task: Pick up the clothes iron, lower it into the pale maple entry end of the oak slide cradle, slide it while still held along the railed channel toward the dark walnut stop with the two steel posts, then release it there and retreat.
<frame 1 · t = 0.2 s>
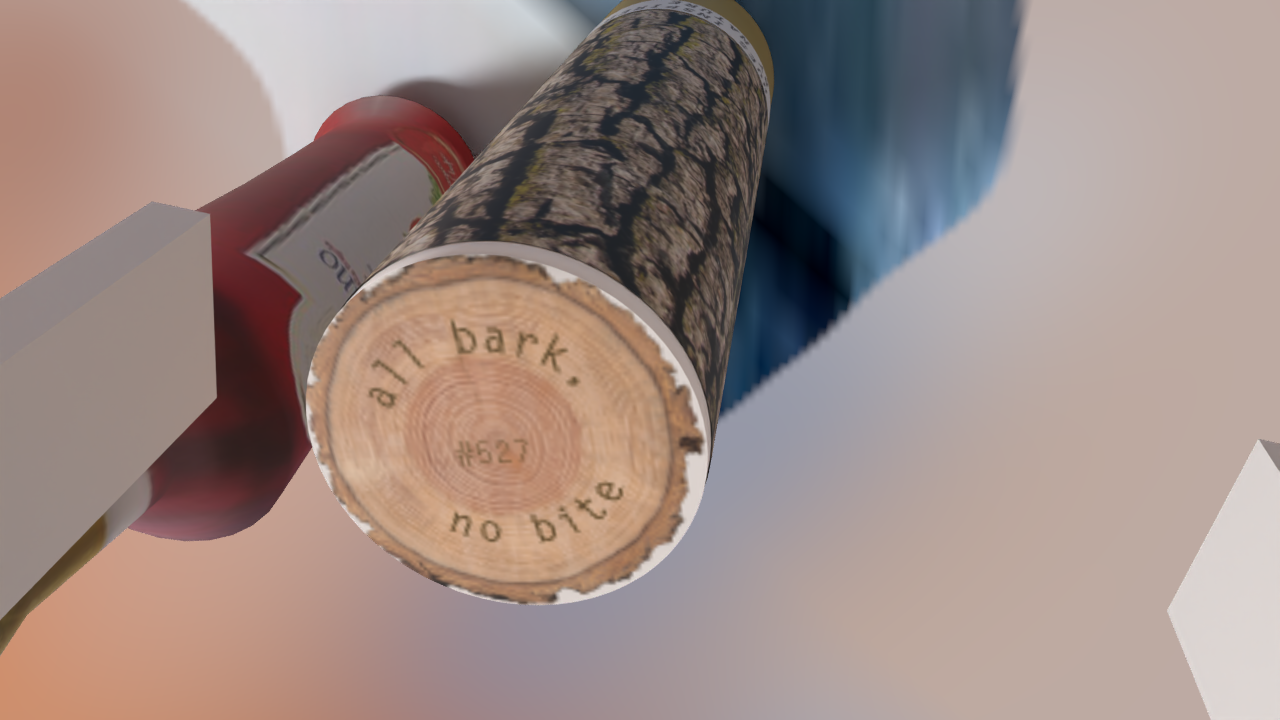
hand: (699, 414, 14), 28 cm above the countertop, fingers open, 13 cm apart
liquor: (408, 172, 43), on the countertop
paper tube: (682, 74, 40), on the countertop
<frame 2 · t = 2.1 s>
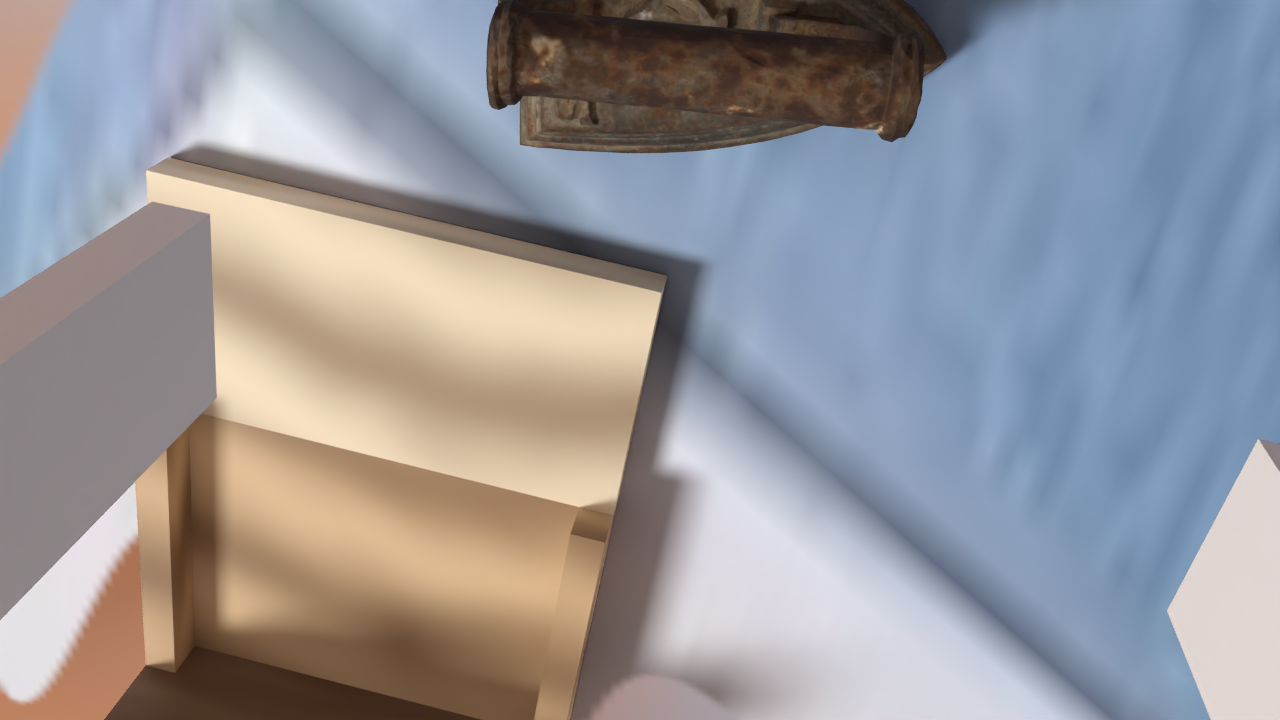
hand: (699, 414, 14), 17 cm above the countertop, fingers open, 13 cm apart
cradle: (391, 486, 37), on the countertop
clothes iron: (731, 29, 29), on the countertop
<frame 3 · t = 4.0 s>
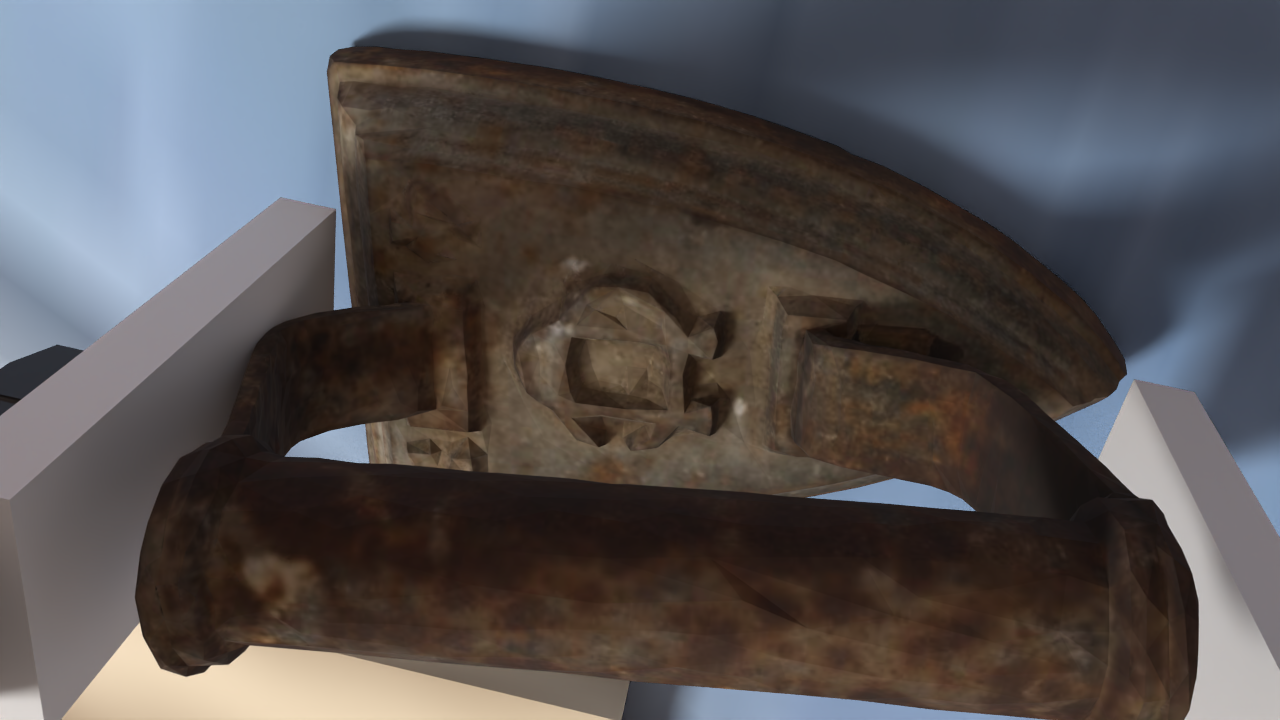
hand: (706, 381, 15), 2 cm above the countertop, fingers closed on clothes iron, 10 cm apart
clothes iron: (727, 308, 16), on the countertop, touching gripper
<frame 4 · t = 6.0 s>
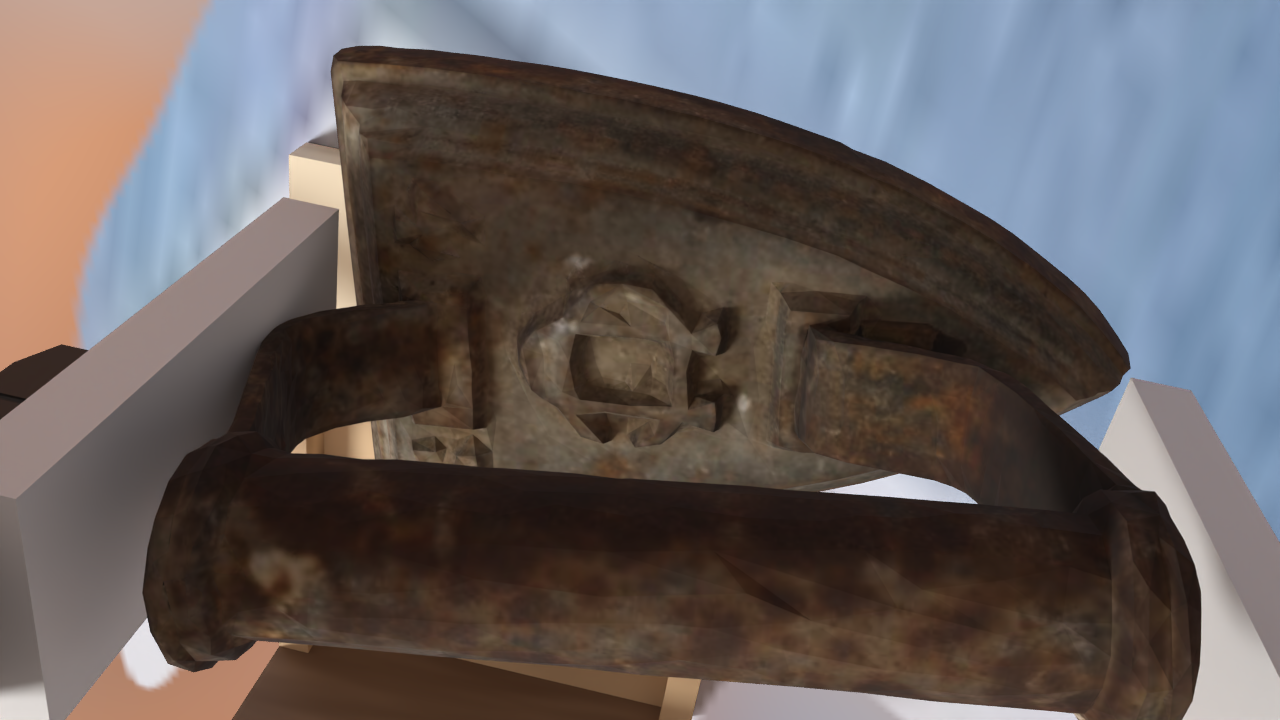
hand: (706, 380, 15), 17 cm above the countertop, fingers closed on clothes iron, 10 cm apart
cradle: (519, 463, 37), on the countertop
clothes iron: (731, 304, 16), point 15 cm above the countertop, touching gripper
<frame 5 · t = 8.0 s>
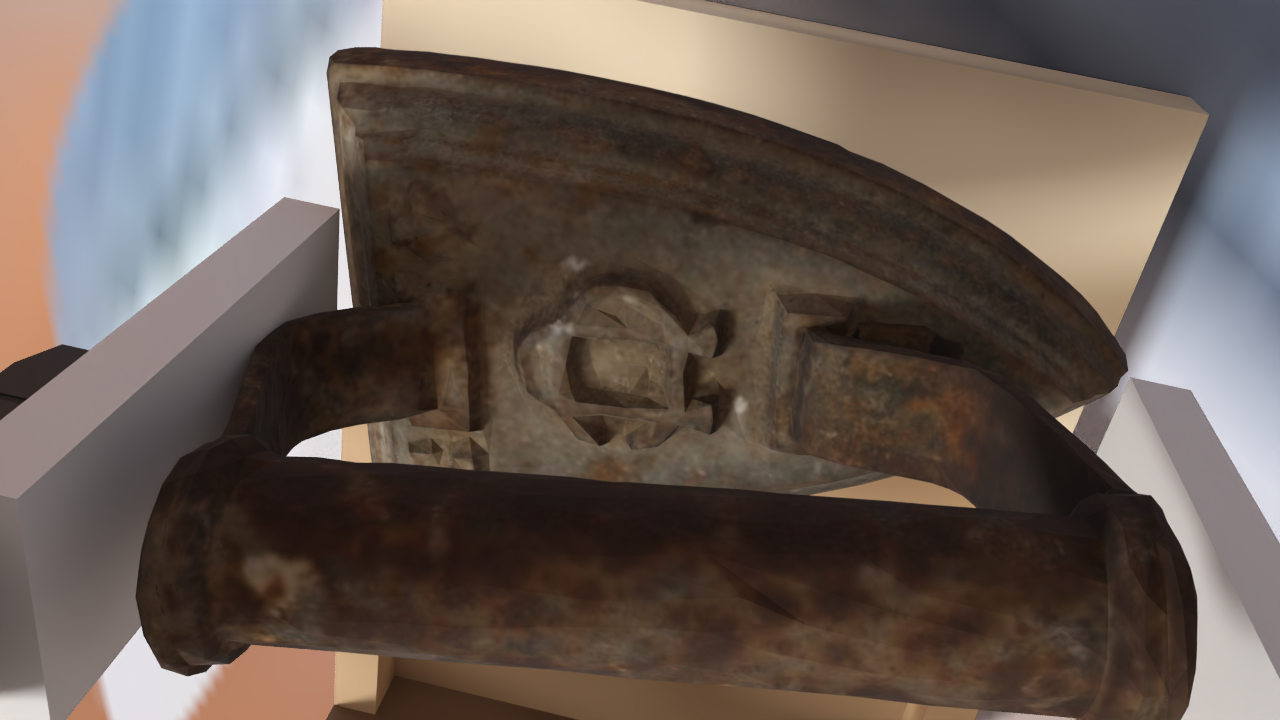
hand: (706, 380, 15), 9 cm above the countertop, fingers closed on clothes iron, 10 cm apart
cradle: (694, 445, 26), on the countertop
clothes iron: (728, 306, 16), point 7 cm above the countertop, touching gripper
when the fingers open (4 cm above the countertop, at t = 11.6 s): clothes iron drops 1 cm, resting on cradle.
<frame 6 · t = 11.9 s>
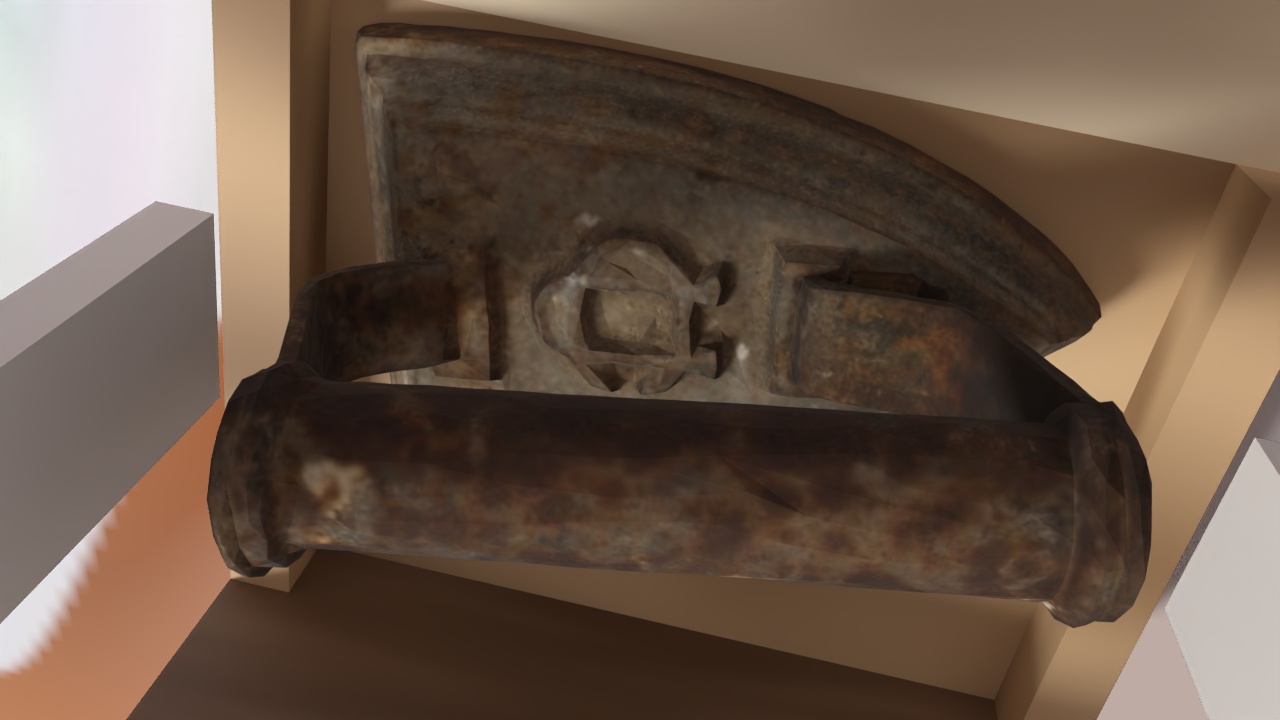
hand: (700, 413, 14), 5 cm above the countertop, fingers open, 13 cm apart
cradle: (749, 176, 17), on the countertop
clothes iron: (729, 264, 17), point 1 cm above the countertop, touching cradle
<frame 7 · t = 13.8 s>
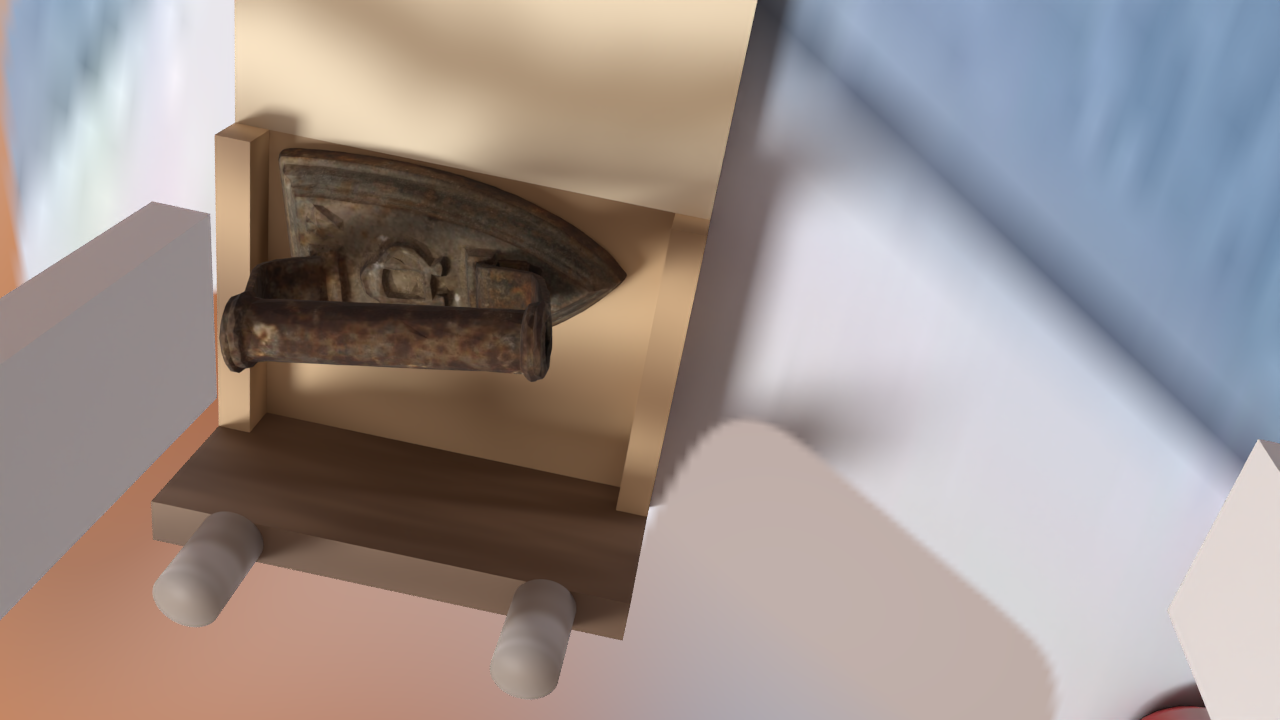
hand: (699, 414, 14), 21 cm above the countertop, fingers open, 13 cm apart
cradle: (474, 217, 36), on the countertop
clothes iron: (462, 259, 36), point 1 cm above the countertop, touching cradle
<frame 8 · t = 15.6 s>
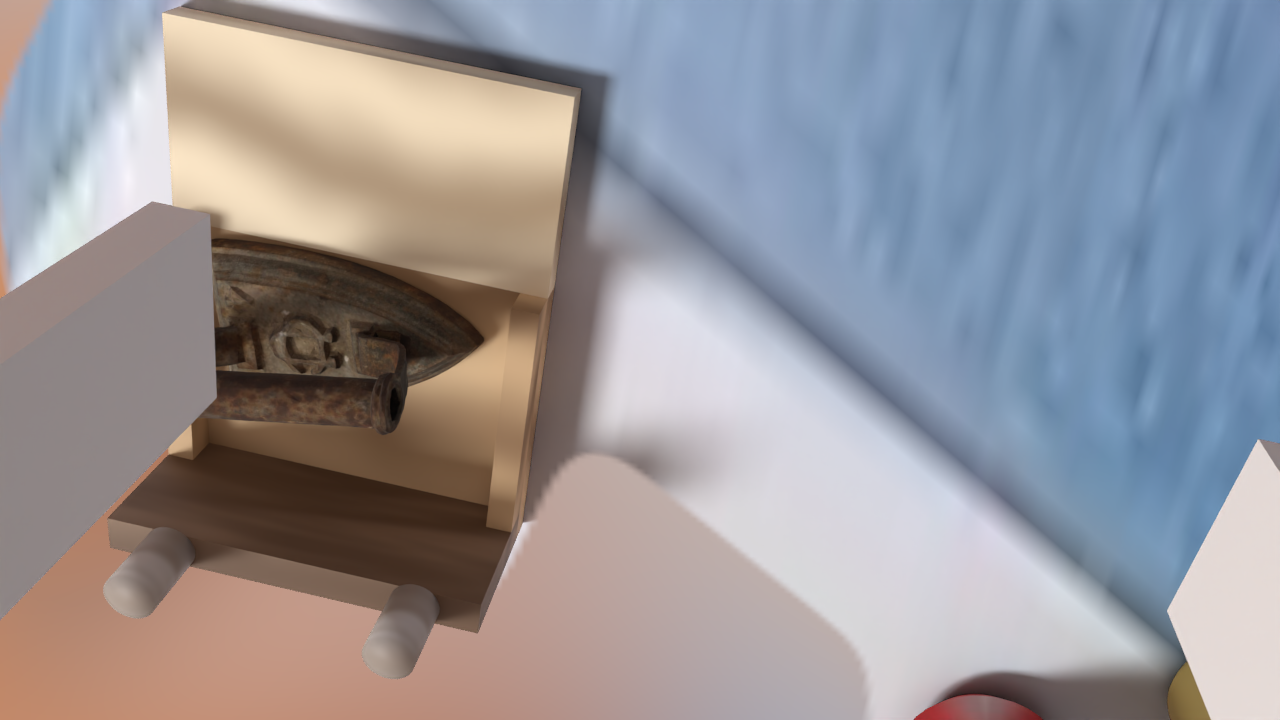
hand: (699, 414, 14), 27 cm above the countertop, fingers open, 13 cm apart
cradle: (368, 290, 45), on the countertop
clothes iron: (356, 324, 44), point 1 cm above the countertop, touching cradle
paper tube: (1244, 684, 48), on the countertop
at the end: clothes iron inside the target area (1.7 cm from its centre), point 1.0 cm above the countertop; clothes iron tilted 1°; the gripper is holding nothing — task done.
